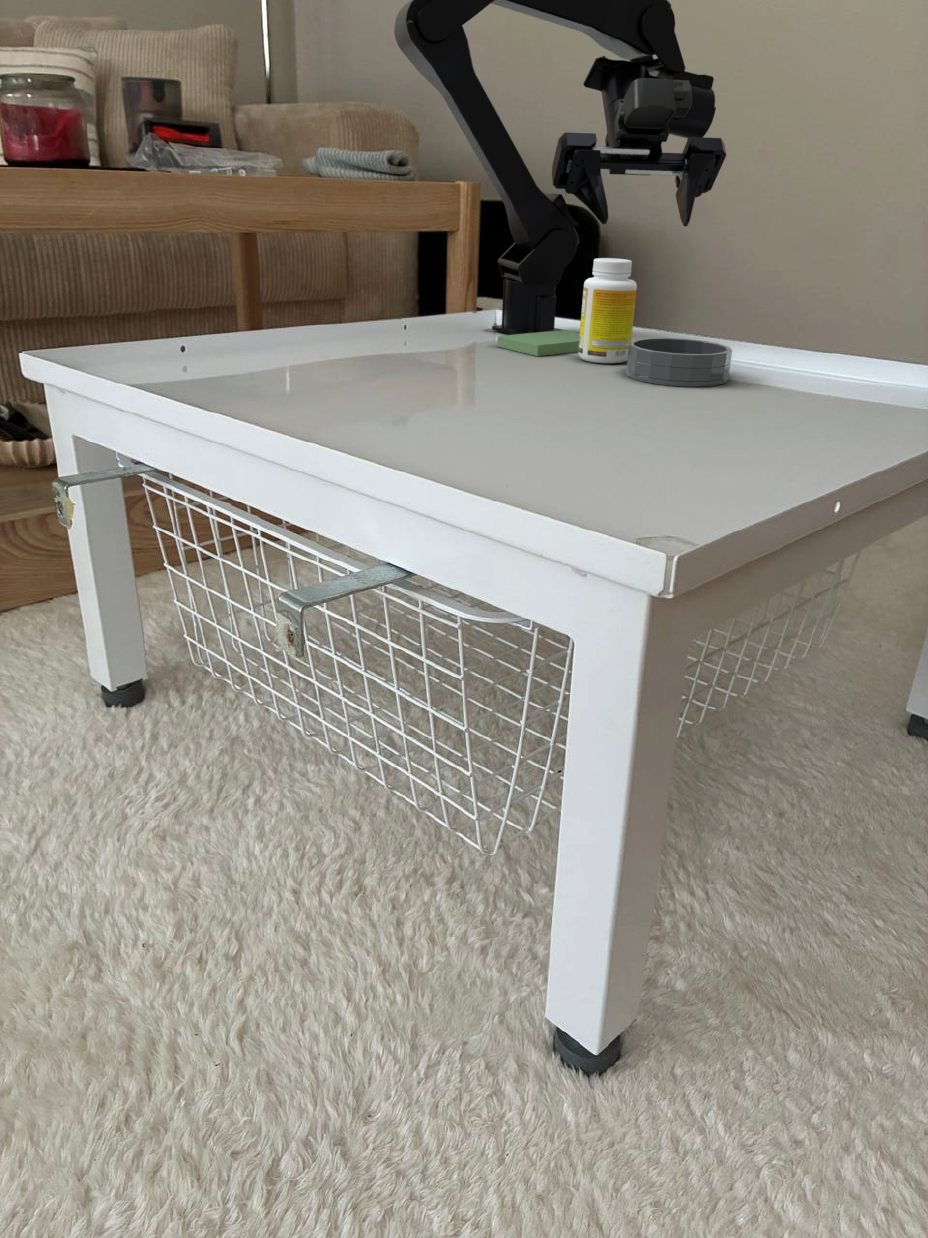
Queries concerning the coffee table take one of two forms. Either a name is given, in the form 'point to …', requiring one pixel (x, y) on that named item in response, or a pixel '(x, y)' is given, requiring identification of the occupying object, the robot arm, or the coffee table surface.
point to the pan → (678, 362)
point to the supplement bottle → (607, 312)
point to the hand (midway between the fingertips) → (646, 222)
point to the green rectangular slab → (541, 342)
